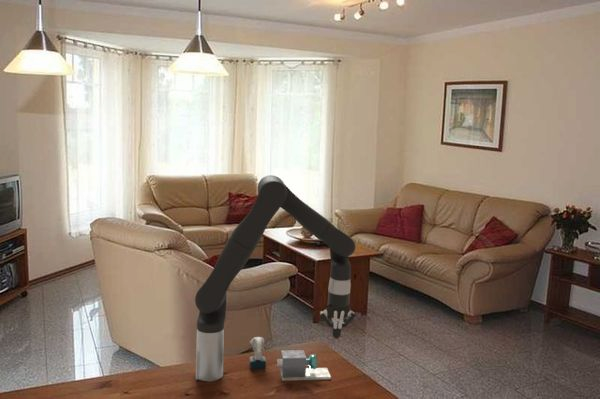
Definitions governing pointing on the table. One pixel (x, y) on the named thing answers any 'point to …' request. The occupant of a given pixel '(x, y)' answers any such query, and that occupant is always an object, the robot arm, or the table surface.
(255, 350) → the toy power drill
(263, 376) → the table surface
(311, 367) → the shaft
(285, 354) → the shaft housing
